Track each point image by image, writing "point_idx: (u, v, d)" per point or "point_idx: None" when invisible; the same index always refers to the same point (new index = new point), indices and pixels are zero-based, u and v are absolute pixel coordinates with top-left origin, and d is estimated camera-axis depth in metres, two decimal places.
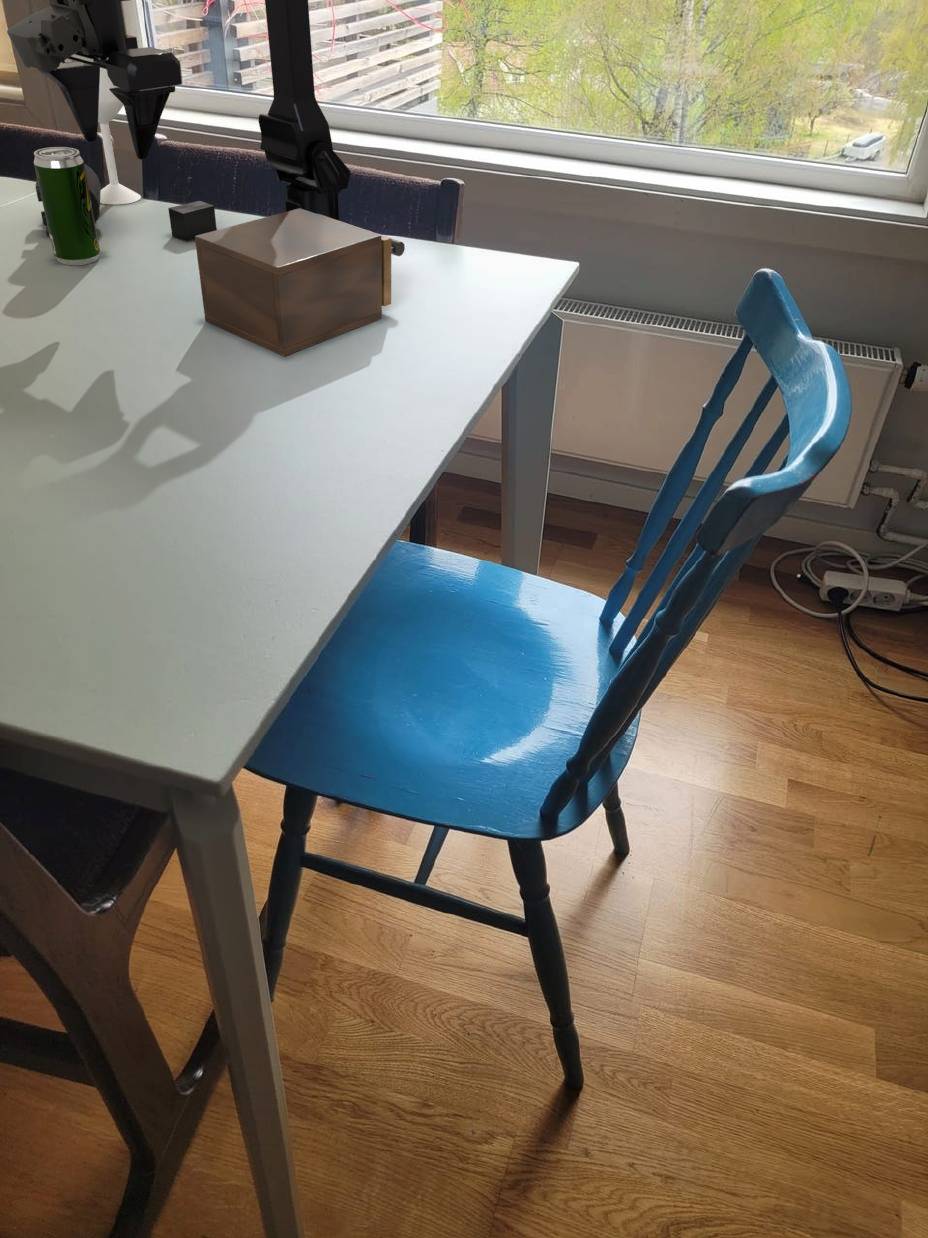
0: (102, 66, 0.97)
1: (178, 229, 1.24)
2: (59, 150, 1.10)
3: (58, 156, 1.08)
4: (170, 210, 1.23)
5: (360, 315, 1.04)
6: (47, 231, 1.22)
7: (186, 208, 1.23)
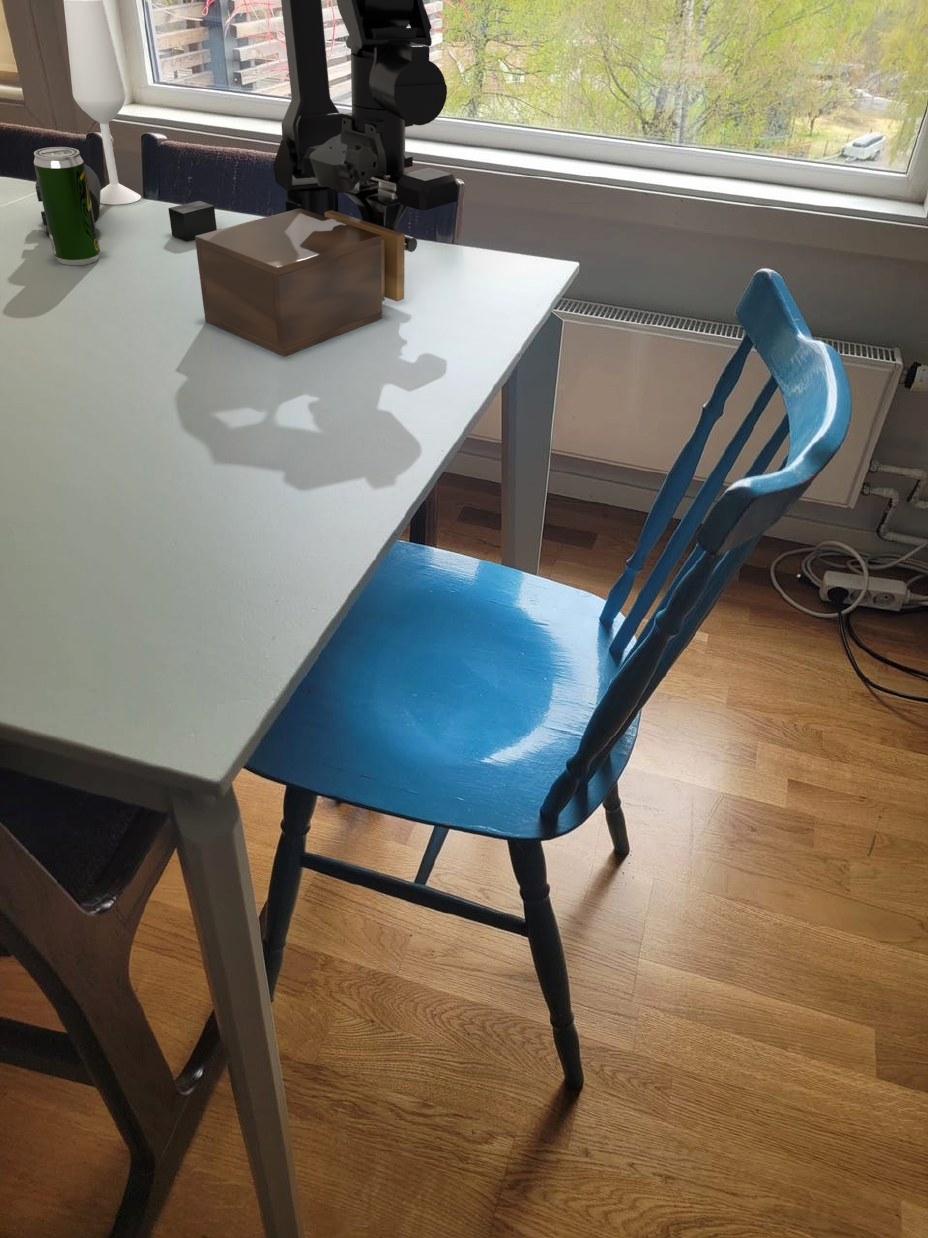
0: None
1: (178, 229, 1.24)
2: (59, 150, 1.10)
3: (58, 156, 1.08)
4: (170, 210, 1.23)
5: (360, 315, 1.04)
6: (47, 231, 1.22)
7: (186, 208, 1.23)
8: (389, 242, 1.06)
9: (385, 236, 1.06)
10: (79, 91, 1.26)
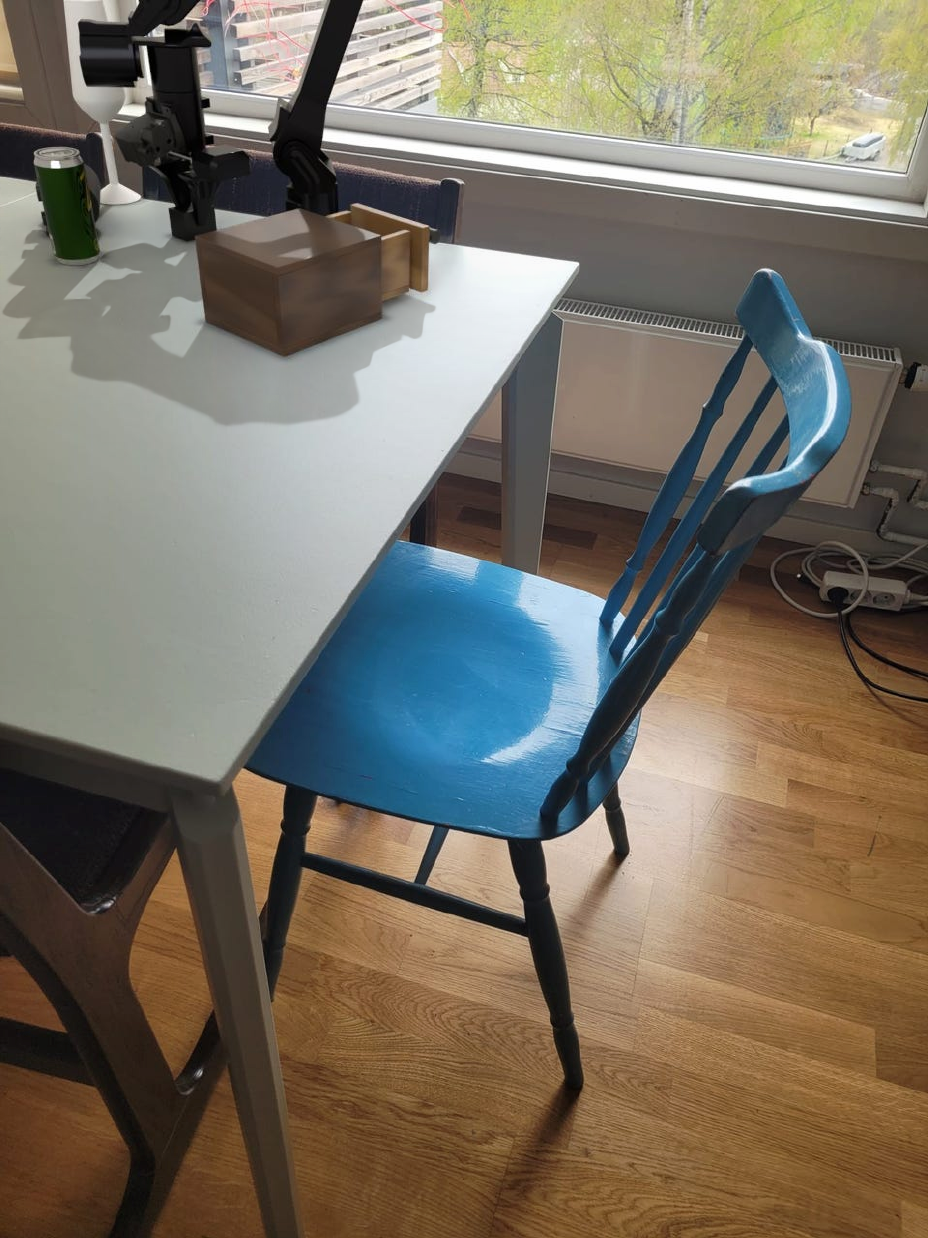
0: (185, 158, 1.20)
1: (178, 229, 1.24)
2: (59, 150, 1.10)
3: (58, 156, 1.08)
4: (170, 210, 1.23)
5: (360, 315, 1.04)
6: (47, 231, 1.22)
7: (186, 208, 1.23)
8: (414, 234, 1.08)
9: (410, 228, 1.08)
10: (79, 91, 1.26)
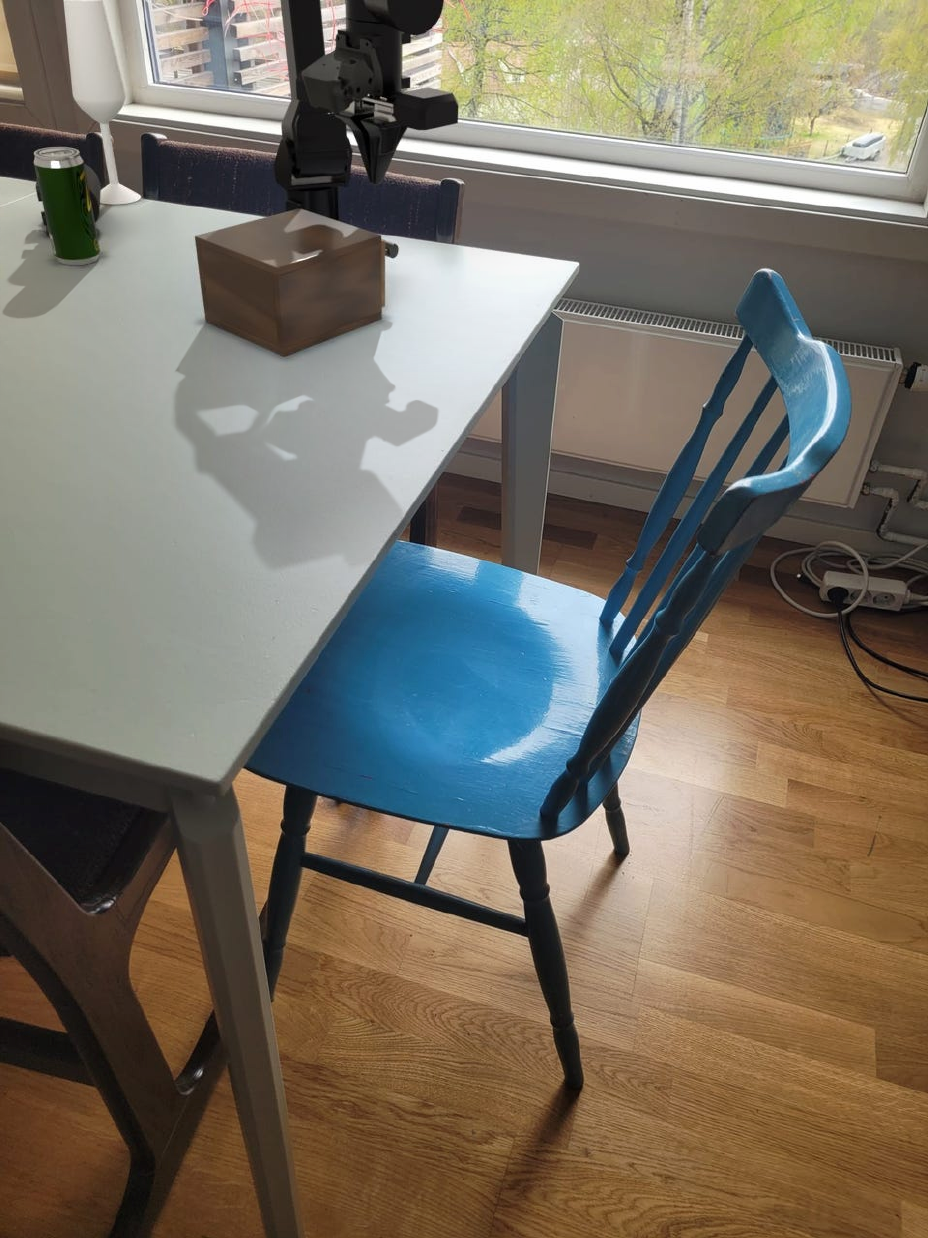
0: None
1: None
2: (59, 150, 1.10)
3: (58, 156, 1.08)
4: None
5: (360, 315, 1.04)
6: (47, 231, 1.22)
7: None
8: None
9: None
10: (79, 91, 1.26)
